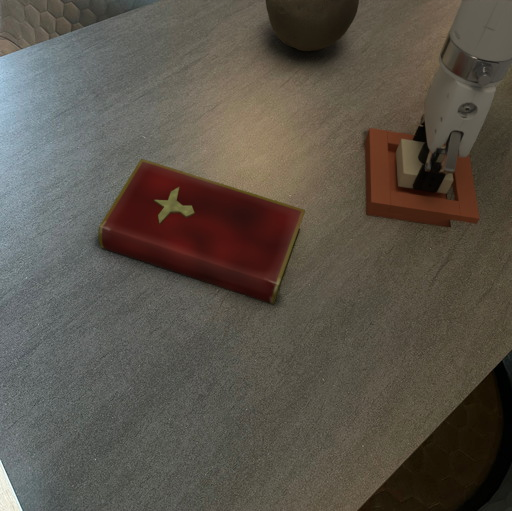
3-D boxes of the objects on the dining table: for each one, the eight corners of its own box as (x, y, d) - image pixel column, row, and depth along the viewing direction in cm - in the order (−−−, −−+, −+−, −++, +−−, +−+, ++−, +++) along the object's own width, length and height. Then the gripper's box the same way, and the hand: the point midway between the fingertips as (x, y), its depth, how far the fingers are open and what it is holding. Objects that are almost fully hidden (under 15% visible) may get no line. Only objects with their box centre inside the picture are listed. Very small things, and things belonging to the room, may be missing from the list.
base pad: (460, 155, 90) (467, 143, 88) (472, 230, 81) (479, 218, 79) (364, 140, 89) (369, 127, 87) (366, 214, 81) (371, 202, 79)
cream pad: (442, 159, 86) (454, 134, 82) (446, 194, 82) (459, 169, 78) (395, 152, 85) (405, 126, 82) (397, 186, 81) (408, 161, 78)
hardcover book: (272, 307, 71) (278, 286, 67) (100, 250, 72) (97, 227, 69) (299, 230, 78) (305, 208, 75) (141, 180, 80) (141, 156, 76)
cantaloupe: (256, 18, 104) (268, -73, 92) (339, 24, 106) (361, -65, 94) (261, 71, 96) (275, -21, 84) (351, 77, 98) (377, -13, 86)
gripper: (522, 111, 64) (456, 223, 78) (498, 16, 74) (444, 130, 89) (450, 100, 63) (397, 214, 78) (436, 6, 74) (392, 122, 88)
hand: (422, 168), depth 83 cm, fingers closed on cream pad, 6 cm apart
